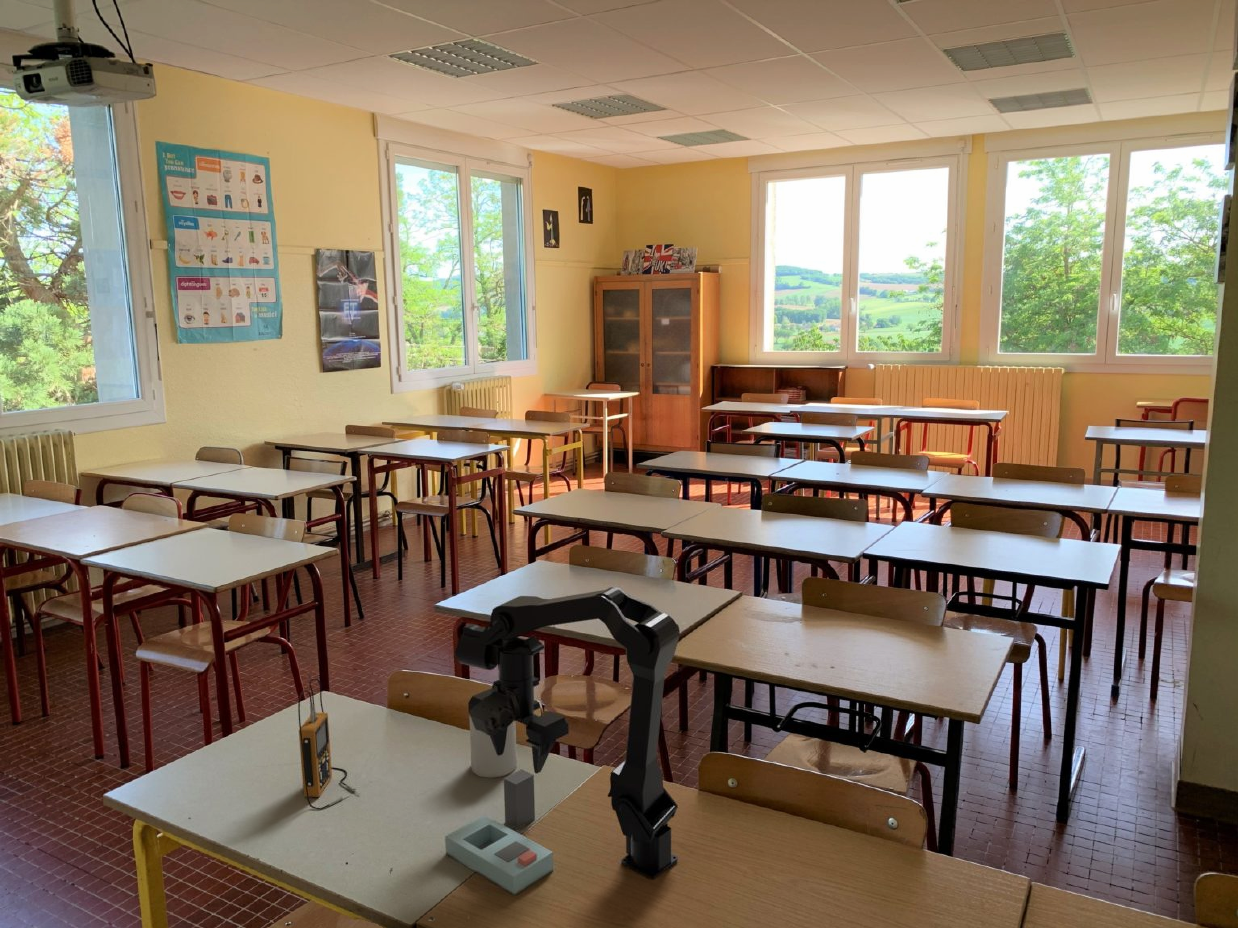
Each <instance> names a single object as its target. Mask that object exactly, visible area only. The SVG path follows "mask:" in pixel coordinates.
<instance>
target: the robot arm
mask: <svg viewBox="0 0 1238 928" xmlns="http://www.w3.org/2000/svg"><path fill="white" fill-rule="evenodd" d="M597 619H598V620H600V621H601V622H602V623H603V624H604V625H605V626H606V628H607V630H608V631H609V633H610V635H611V636H612V637H613V638H612V639H614V640H615V641H616V642H617V643H619V645H621V646H622V647H624V648H625V656H626V657H625V659H626V662H627V665H628V667H629V668H630V671H631V673H632V688H631V697H630V698H631V699H630V711H629V718H628V729H627V730H628V731H627V732H628V733H627V741H626V753H625V759H624V760H623V761H622V762H621V763H619V765H617V766H616V767H615V768H614V769H613V770H612V771H611V772H610V777H609V780H610V781H609V782H610V789H609V792H608V793H607V798H610V801H611V802H610V805H611V809H612V810H613V811H614V812H615V814H616V818H617V821H618V824H619V826H620V829H621V832H622V835H623V836H625V853H626V854H627V855H626V856H624V857H622V858H621V859H620V863H621V864H622V865H623V866H626V867H627V868H629V869H631V870H633V871H635V872H636V873H639V874H641V875H643V876H645V877H647V878H648V879H651V880H653V879H656V878H657V877H658V876H659V875H661V874H662V873H663V872H664V871H666V870H667V869H668V868H670V867H671V866H673V865H674V864H675V863H677V862H678V859H679V857H678V856H677V855H675V854H673V853H672V828H671V827H670V826H669V824H668V823H669V822H670V821H671V819H672V818H674V817H675V816H676V814H677V810H678V809H679V805H678V804H677V803H676V801H675V800H674V799H673V797H672V795H670V793H668V791H667V790H666V789H665V787H664V779H663V776H664V774H663V771H662V770H661V767H660V765H659V762H658V760H657V755H658V746H659V735H660V726H661V725H660V724H661V717H662V705H663V695H664V687H665V676H666V674H667V671H668V669H669V666H670V664H671V662H672V660H673V658H674V656H675V653H676V650H677V646H678V644H679V643H678V642H679V639H680V634H681V633H680V627H679V625H678V623H676V621H675V620H674V618H672V616H670V614H667V613H665V612H661V611H660V610H659V609H657V608H656V607H655V606H653V605H652V604H650V603H647V602H646V601H643V600H640V599H638V598H635V597H633V596H631V595H629V594H628V593H626V592H625V591H624V590H623V589H622V588H619V587H616V586H615V587H614V586H613V587H612V586H611V587H608V588H606V589H601V590H596V591H590V592H585V593H578V594H573V595H572V594H571V595H565V596H560V597H554V598H542V597H539V596H534V595H520V596H517V597H515V598H512V599H510V600H508V601H506V602H504V603H501V604H499V605H497V606H495V607H493V608H492V612H491V613H490V620H489V622H488V624H487V625H486V627H485V626H480V625H478V624H474V623H469V624H467V625H465V626H463V627H462V632H463V633H462V634H461V636H460V637H459V639H458V641H457V645H456V648H455V650H454V652H455V658H456V660H457V662H458V663H460V664H461V665H466V666H471V667H475V668H479V669H482V670H487V671H492V670H494V669H495V668H496V667H497V668H498V670H497V671H498V673H497V674H498V678H497V680H494V681H492V685H491V688H489V689H486V690H484V691H481V692H479V693H477V694H474V695H472V696H471V697H470V699H469V701H468V703H467V705H468V706H467V707H468V708H467V709H468V714H469V718H470V717H471V719H472V722H473V725H474V727H475V729H476V730H480V731H482V732H484V733H486V734H487V735H490V738H491V740H492V743H493V746H494V748H495V751H496V753H497V755H498V756H500V755H502V754H503V753H504V748H505V744H506V736H507V729H508V726H509V725H510V724H511V723H513V721H515V722H517V723H520V724H523V725H525V726H526V727H525V735H526V737H527V739H525V742H526V743H527V744H529V745H530V746H531V751H532V753H531V754H532V764H533V765H532V766H533V771H534V774H539V773H541V771H542V770H543V767H544V765H545V764H546V761H547V759H548V757H549V754H550V753H551V751H552V749H553V747H554V745H555V743H556V741H557V740H558V739H560V738H562V737H565V736H567V735H568V734H569V733H570V731H569V729H570V728H569V720H568V719H567V718H566V717H565V716H562V715H560V714H557V713H554V712H552V711H547V712H546V713H544V714H541V715H538V714H535V711H537V710H539V709H540V706H541V705H540V704H541V703H540V701H538V700H535V687H537V686H539V685H540V678H538V677H535V676H534V674H535V673H534V655H536V654H538V653H539V652H541V651H543V650H544V649H545V645H544V644H543V642H541V641H540V640H539V639H537V638H536V636H535V635H531V636H529V637H528V638H523V637H521V636H525V635H526V634H529V633H531V632H533V631H536V630H539V629H541V628H544V627H551V626H558V625H566V624H571V623H578V622H584V621H593V620H597ZM627 619H628V620H630V621H632V622H635V623H636V624H635V625H633V623H631V622H629V621H628V620H627Z"/></svg>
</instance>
